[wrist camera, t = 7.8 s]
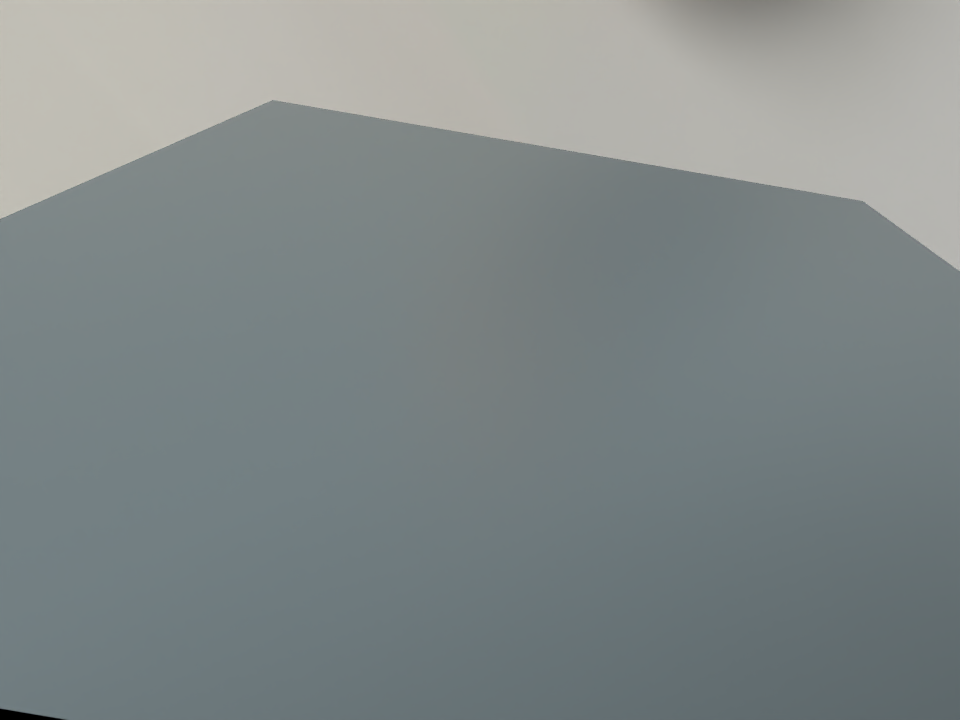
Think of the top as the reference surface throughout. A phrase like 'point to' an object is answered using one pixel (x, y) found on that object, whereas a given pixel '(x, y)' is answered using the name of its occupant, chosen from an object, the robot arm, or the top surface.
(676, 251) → the grey square block
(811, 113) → the top surface
